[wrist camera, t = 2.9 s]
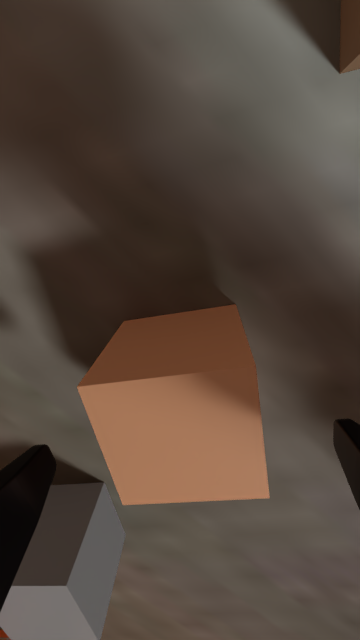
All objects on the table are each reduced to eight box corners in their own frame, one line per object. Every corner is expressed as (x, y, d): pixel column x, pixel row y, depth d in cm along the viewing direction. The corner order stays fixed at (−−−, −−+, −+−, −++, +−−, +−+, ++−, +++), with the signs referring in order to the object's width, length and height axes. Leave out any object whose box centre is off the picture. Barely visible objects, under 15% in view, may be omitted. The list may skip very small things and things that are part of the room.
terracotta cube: (235, 303, 12) (255, 366, 7) (247, 398, 13) (269, 498, 9) (124, 320, 12) (76, 387, 8) (149, 408, 14) (122, 505, 10)
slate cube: (104, 480, 17) (66, 585, 12) (125, 533, 18) (99, 642, 14) (30, 485, 17) (-33, 586, 13) (57, 535, 19) (11, 639, 14)
